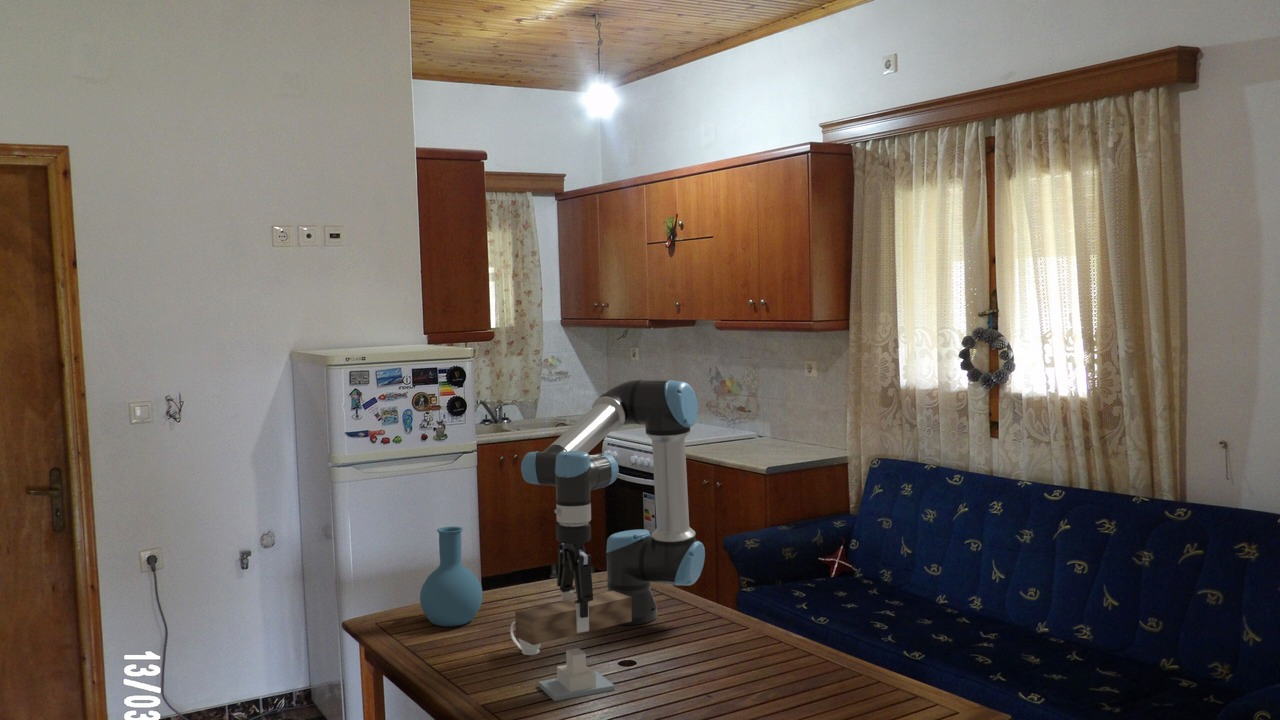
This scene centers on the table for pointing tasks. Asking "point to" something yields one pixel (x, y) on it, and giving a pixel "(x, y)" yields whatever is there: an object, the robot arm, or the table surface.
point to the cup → (524, 644)
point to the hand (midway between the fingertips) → (575, 625)
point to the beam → (571, 617)
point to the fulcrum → (575, 679)
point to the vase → (450, 585)
